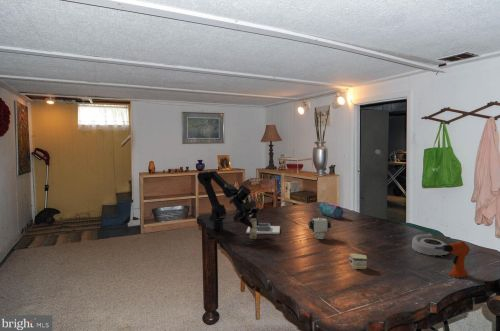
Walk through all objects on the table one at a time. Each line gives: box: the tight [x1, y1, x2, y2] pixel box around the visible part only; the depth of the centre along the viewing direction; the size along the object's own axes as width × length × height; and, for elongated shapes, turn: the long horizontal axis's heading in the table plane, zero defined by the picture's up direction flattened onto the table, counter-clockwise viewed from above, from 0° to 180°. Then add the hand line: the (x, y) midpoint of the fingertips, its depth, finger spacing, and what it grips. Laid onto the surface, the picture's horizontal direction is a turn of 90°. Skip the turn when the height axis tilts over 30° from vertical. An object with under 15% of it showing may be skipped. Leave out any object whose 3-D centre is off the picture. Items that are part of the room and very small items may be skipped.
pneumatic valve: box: [307, 217, 332, 240], centre depth 179 cm, size 6×12×12 cm, turn 94°
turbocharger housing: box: [411, 233, 450, 256], centre depth 156 cm, size 17×7×15 cm
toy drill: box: [434, 241, 471, 278], centre depth 126 cm, size 5×18×14 cm, turn 109°
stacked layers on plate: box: [349, 253, 368, 270], centre depth 137 cm, size 10×9×6 cm
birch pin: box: [249, 218, 258, 240], centre depth 181 cm, size 4×4×11 cm
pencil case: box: [317, 201, 344, 220], centre depth 231 cm, size 21×9×10 cm, turn 20°
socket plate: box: [245, 222, 281, 235], centre depth 196 cm, size 20×14×4 cm
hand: (255, 226), depth 180 cm, fingers open, 5 cm apart
